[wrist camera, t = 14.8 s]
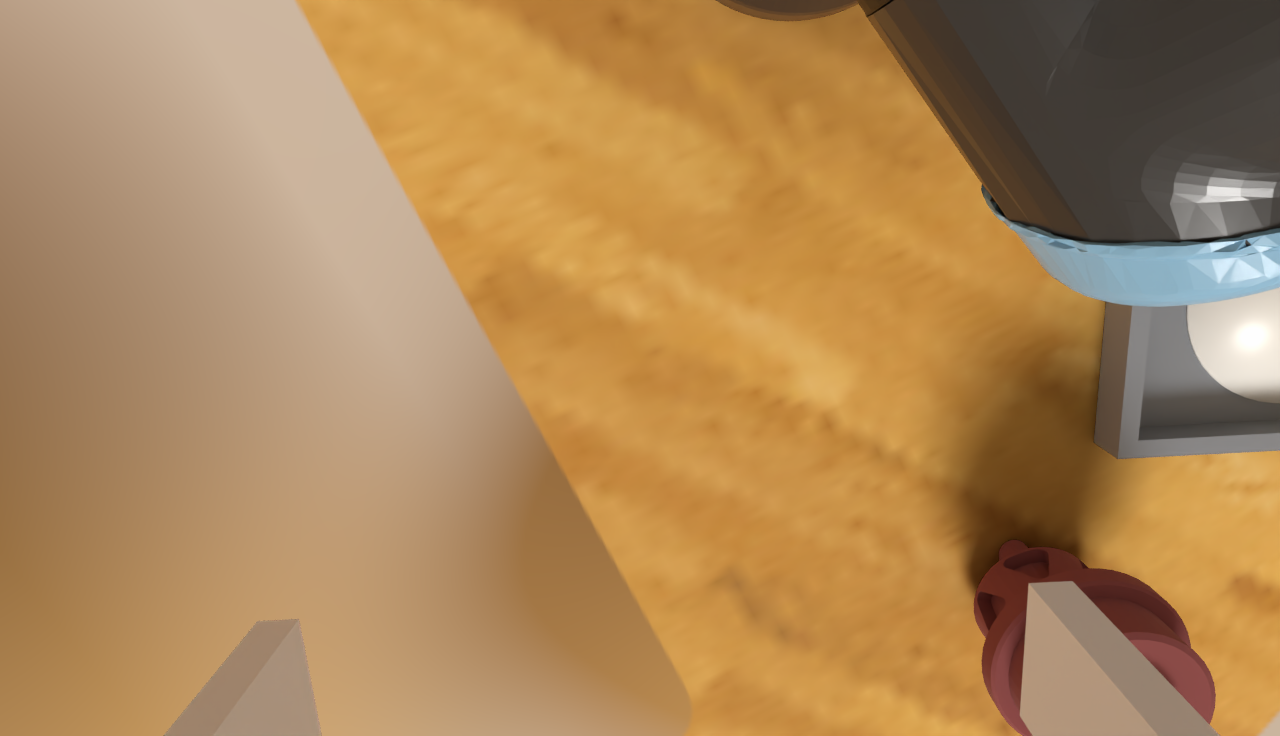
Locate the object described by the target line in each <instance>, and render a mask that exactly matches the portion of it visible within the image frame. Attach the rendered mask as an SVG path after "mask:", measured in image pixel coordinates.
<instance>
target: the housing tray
mask: <svg viewBox="0 0 1280 736" xmlns="http://www.w3.org/2000/svg"><path fill="white" fill-rule="evenodd" d="M1094 443H1095V444H1097V445H1098V446H1099V447H1101V448H1102V449H1104V450H1105V451H1107V452H1108V453H1110V454H1111V455H1113V456H1114V457H1116V458H1117V459H1127V458H1146V457H1165V456H1184V455H1202V454H1221V453H1240V452H1259V451H1278V450H1280V287H1279V288H1276V289H1273V290H1269V291H1265V292H1261V293H1257V294H1253V295H1248V296H1244V297H1240V298H1234V299H1229V300H1223V301H1217V302H1210V303H1203V304H1194V305H1182V306H1166V307H1147V306H1131V305H1122V304H1116V303H1110V302H1106V309H1105V321H1104V332H1103V344H1102V355H1101V367H1100V378H1099V390H1098V401H1097V413H1096V424H1095V436H1094Z"/></svg>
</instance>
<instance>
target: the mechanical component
mask: <svg viewBox="0 0 1280 736" xmlns="http://www.w3.org/2000/svg"><path fill="white" fill-rule="evenodd" d="M1063 581H1073V582H1074V583H1075V584H1076V585H1077V586H1078V587H1079V588H1080V590H1081V591H1082V592H1083V593H1084V594H1085V595H1086V596H1087V597H1088V598H1089V599H1090V600H1091V601H1092V602H1093V603H1094V604H1095V605H1096V606H1097V607H1098V608H1099V609H1100V610H1101V612H1102V613H1103V614H1104V615H1105V616H1106V617H1107V618H1108V619H1109V620H1110V621H1111V622H1112V623H1113V624H1114V625H1115V626H1116V627H1117V628H1118V629H1119V630H1120V631H1121V632H1122V634H1123V635H1124V636H1125V637H1126V638H1127V639H1128V640H1129V641H1130V642H1131V643H1132V644H1133V645H1134V646H1135V647H1136V648H1137V649H1138V650H1139V651H1140V652H1141V653H1142V654H1143V656H1144V657H1145V658H1146V659H1147V660H1148V661H1149V662H1150V663H1151V664H1152V665H1153V666H1154V667H1155V668H1156V669H1157V670H1158V671H1159V672H1160V673H1161V674H1162V675H1163V676H1164V678H1165V679H1166V680H1167V681H1168V682H1169V683H1170V684H1171V685H1172V686H1173V687H1174V688H1175V689H1176V690H1177V691H1178V692H1179V693H1180V694H1181V695H1182V696H1183V697H1184V698H1185V700H1186V701H1187V702H1188V703H1189V704H1190V705H1191V706H1192V707H1193V708H1194V709H1195V710H1196V711H1197V712H1198V713H1199V714H1200V715H1201V716H1202V717H1203V718H1204V719H1205V720H1206V722H1207V723H1208V724H1210V722H1211V720H1212V716H1213V712H1214V708H1215V696H1216V694H1215V687H1214V682H1213V679H1212V676H1211V673H1210V671H1209V669H1208V668H1207V666H1206V664H1205V662H1204V661H1203V660H1202V659H1201V658H1200V657H1199V656H1198V654H1197V653H1196V652H1195V651H1194V650H1193V649H1191V644H1190V640H1189V636H1188V632H1187V630H1186V627H1185V625H1184V623H1183V621H1182V619H1181V618H1180V616H1179V615H1178V613H1177V612H1176V611H1175V610H1174V609H1173V608H1172V606H1171V605H1170V604H1169V603H1168V602H1167V601H1165V600H1164V599H1163V598H1162V597H1161V596H1160V595H1159V594H1157V593H1156V592H1155V591H1154V590H1153V589H1152V588H1151V587H1149V586H1148V585H1146V584H1145V583H1143V582H1142V581H1140V580H1139V579H1137V578H1134V577H1132V576H1130V575H1127V574H1124V573H1121V572H1117V571H1114V570H1107V569H1089V568H1088V567H1087V566H1086V565H1085V564H1084V563H1083V562H1082V561H1081V560H1080V559H1078V558H1077V557H1075V556H1074V555H1072V554H1070V553H1068V552H1066V551H1063V550H1060V549H1056V548H1052V547H1033V548H1028V547H1027V546H1026V545H1025V544H1024V543H1023V542H1022V541H1019V540H1010V541H1008V542H1006V543H1004V544H1003V545H1002V547H1001V548H1000V550H999V561H998V562H997V563H996V564H995V565H994V566H992V567H991V568H990V570H989V571H988V572H987V573H986V574H985V575H984V577H983V579H982V580H981V582H980V583H979V586H978V588H977V591H976V594H975V599H974V614H975V619H976V622H977V624H978V626H979V628H980V630H981V632H982V633H983V635H984V636H985V638H986V640H985V644H984V647H983V654H982V673H983V678H984V682H985V685H986V688H987V690H988V692H989V695H990V696H991V698H992V700H993V701H994V703H995V705H996V706H997V708H998V710H999V711H1000V713H1001V715H1002V716H1003V717H1004V718H1005V720H1006V721H1007V722H1008V724H1009V725H1010V726H1012V727H1013V728H1014V729H1015V730H1016V731H1017V732H1018V733H1020V734H1021V735H1023V736H1032V734H1031V733H1030V731H1029V729H1028V728H1027V726H1026V725H1025V723H1024V722H1023V720H1022V718H1021V717H1020V704H1021V689H1022V674H1023V659H1024V644H1025V629H1026V614H1027V600H1028V585H1029V583H1043V582H1063Z"/></svg>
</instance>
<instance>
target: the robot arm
mask: <svg viewBox="0 0 1280 736" xmlns="http://www.w3.org/2000/svg"><path fill="white" fill-rule="evenodd" d="M716 1H718V2H719V3H721V4H723V5H725V6H727V7H729V8H731V9H733V10H736V11H738V12H741V13H744V14H747V15H750V16H753V17H758V18H762V19H769V20H776V21H801V20H810V19H815V18H821V17H825V16H828V15H832V14H835V13H838V12H840V11H843V10H846V9H848V8H850V7H852V6H855V5H856V4H858V3H859V5H860V6H861V8H862V9H863V10H864V12H865V14H866V15H867V16H866V17H867V18H868V19H869V21H870V22H871V24H872V25H873V27H874V28H875V30H876V31H877V32H878V34H879V35H880V37H881V38H882V40H883V41H884V43H885V44H886V46H887V47H888V48H889V50H890V51H891V53H892V54H893V56H894V57H895V59H896V60H897V61H898V63H899V64H900V66H901V67H902V69H903V70H904V72H905V73H906V74H907V76H908V77H909V79H910V80H911V82H912V83H913V85H914V86H915V87H916V89H917V90H918V92H919V93H920V95H921V96H922V98H923V99H924V100H925V102H926V103H927V105H928V106H929V108H930V109H931V111H932V112H933V114H934V115H935V116H936V118H937V119H938V121H939V122H940V124H941V125H942V127H943V128H944V129H945V131H946V132H947V134H948V135H949V137H950V138H951V140H952V141H953V142H954V144H955V145H956V147H957V148H958V150H959V151H960V153H961V154H962V155H963V157H964V158H965V160H966V161H967V163H968V164H969V166H970V167H971V169H972V170H973V171H974V173H975V174H976V176H977V177H978V179H979V180H980V182H981V183H982V188H981V190H982V194H983V196H984V198H985V200H986V202H987V204H988V206H989V208H990V209H991V211H992V212H993V213H994V215H995V216H996V217H997V218H998V219H999V220H1002V221H1003V222H1004V223H1005V224H1006V225H1007V226H1008V227H1009V228H1010V229H1012V230H1014V231H1015V232H1016V233H1017V234H1018V236H1019V237H1020V238H1021V240H1022V241H1023V242H1024V243H1025V245H1026V246H1027V247H1028V249H1029V250H1030V251H1031V253H1032V254H1033V255H1034V257H1035V258H1036V259H1037V260H1038V262H1039V263H1040V264H1041V266H1042V267H1043V268H1044V269H1045V270H1046V271H1047V272H1048V273H1049V274H1050V275H1051V276H1052V277H1053V278H1055V279H1057V280H1059V281H1060V282H1061V283H1063V284H1064V285H1066V286H1068V287H1069V288H1070V289H1072V290H1074V291H1076V292H1079V293H1081V294H1083V295H1085V296H1088V297H1091V298H1094V299H1098V300H1102V301H1106V302H1110V303H1116V304H1122V305H1131V306H1147V307H1166V306H1182V305H1194V304H1203V303H1210V302H1217V301H1223V300H1229V299H1234V298H1240V297H1244V296H1248V295H1253V294H1257V293H1261V292H1265V291H1269V290H1273V289H1276V288H1279V287H1280V0H716ZM1020 717H1021V718H1022V720H1023V722H1024V723H1025V725H1026V726H1027V728H1028V729H1029V731H1030V733H1031V734H1032V736H1220V735H1219V734H1218V733H1217V732H1216V731H1215V730H1214V729H1213V728H1212V727H1211V726H1210V725H1209V724H1208V723H1207V722H1206V720H1205V719H1204V718H1203V717H1202V716H1201V715H1200V714H1199V713H1198V712H1197V711H1196V710H1195V709H1194V708H1193V707H1192V706H1191V705H1190V704H1189V703H1188V702H1187V701H1186V700H1185V698H1184V697H1183V696H1182V695H1181V694H1180V693H1179V692H1178V691H1177V690H1176V689H1175V688H1174V687H1173V686H1172V685H1171V684H1170V683H1169V682H1168V681H1167V680H1166V679H1165V678H1164V676H1163V675H1162V674H1161V673H1160V672H1159V671H1158V670H1157V669H1156V668H1155V667H1154V666H1153V665H1152V664H1151V663H1150V662H1149V661H1148V660H1147V659H1146V658H1145V657H1144V656H1143V654H1142V653H1141V652H1140V651H1139V650H1138V649H1137V648H1136V647H1135V646H1134V645H1133V644H1132V643H1131V642H1130V641H1129V640H1128V639H1127V638H1126V637H1125V636H1124V635H1123V634H1122V632H1121V631H1120V630H1119V629H1118V628H1117V627H1116V626H1115V625H1114V624H1113V623H1112V622H1111V621H1110V620H1109V619H1108V618H1107V617H1106V616H1105V615H1104V614H1103V613H1102V612H1101V610H1100V609H1099V608H1098V607H1097V606H1096V605H1095V604H1094V603H1093V602H1092V601H1091V600H1090V599H1089V598H1088V597H1087V596H1086V595H1085V594H1084V593H1083V592H1082V591H1081V590H1080V588H1079V587H1078V586H1077V585H1076V584H1075V583H1074V582H1073V581H1063V582H1043V583H1029V585H1028V600H1027V614H1026V629H1025V644H1024V659H1023V674H1022V689H1021V704H1020ZM164 736H322V735H321V730H320V724H319V719H318V714H317V709H316V705H315V699H314V694H313V689H312V684H311V679H310V674H309V668H308V663H307V658H306V653H305V648H304V642H303V638H302V632H301V627H300V622H299V619H291V620H272V621H258V622H256V624H255V625H254V626H253V628H252V629H251V630H250V631H249V632H248V634H247V635H246V636H245V637H244V638H243V640H242V641H241V642H240V643H239V645H238V646H237V647H236V648H235V649H234V650H233V652H232V653H231V654H230V655H229V657H228V658H227V659H226V660H225V661H224V663H223V664H222V666H220V667H219V669H218V670H217V671H216V672H215V674H214V675H213V676H212V677H211V678H210V680H209V681H208V682H207V683H206V685H205V686H204V687H203V688H202V689H201V691H200V692H199V693H198V694H197V696H196V697H195V698H194V699H193V700H192V702H191V703H190V704H189V705H188V706H187V708H186V709H185V710H184V711H183V713H182V714H181V715H180V716H179V717H178V719H177V720H176V721H175V722H174V724H173V725H172V726H171V727H170V728H169V730H168V731H167V732H166V733H165V735H164Z"/></svg>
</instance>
